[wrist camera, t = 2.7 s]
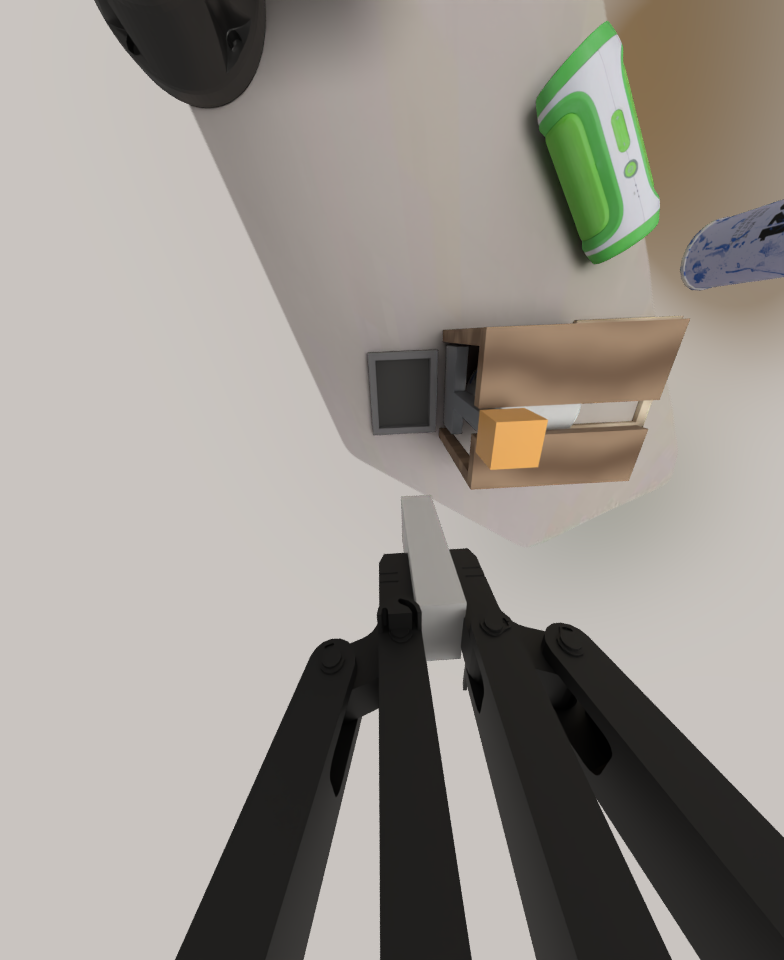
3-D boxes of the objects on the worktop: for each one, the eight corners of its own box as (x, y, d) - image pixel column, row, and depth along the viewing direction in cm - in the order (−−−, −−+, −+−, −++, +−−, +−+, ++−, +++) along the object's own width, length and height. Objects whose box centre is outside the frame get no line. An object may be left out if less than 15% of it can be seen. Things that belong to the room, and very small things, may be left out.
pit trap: (367, 352, 42) (367, 353, 40) (435, 349, 42) (438, 350, 40) (373, 431, 48) (373, 435, 46) (433, 428, 48) (435, 432, 46)
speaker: (629, 231, 37) (684, 208, 30) (575, 273, 39) (617, 260, 32) (580, 62, 30) (637, -15, 24) (518, 122, 32) (555, 66, 26)
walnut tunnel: (443, 330, 41) (486, 327, 25) (566, 324, 42) (690, 318, 25) (439, 436, 48) (470, 489, 32) (544, 431, 49) (628, 480, 32)
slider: (438, 345, 42) (504, 358, 20) (465, 344, 42) (561, 355, 20) (435, 423, 47) (486, 500, 25) (459, 422, 47) (531, 498, 25)
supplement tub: (519, 416, 48) (574, 447, 34) (463, 421, 47) (495, 454, 34) (528, 352, 43) (594, 360, 30) (465, 357, 43) (504, 368, 30)
